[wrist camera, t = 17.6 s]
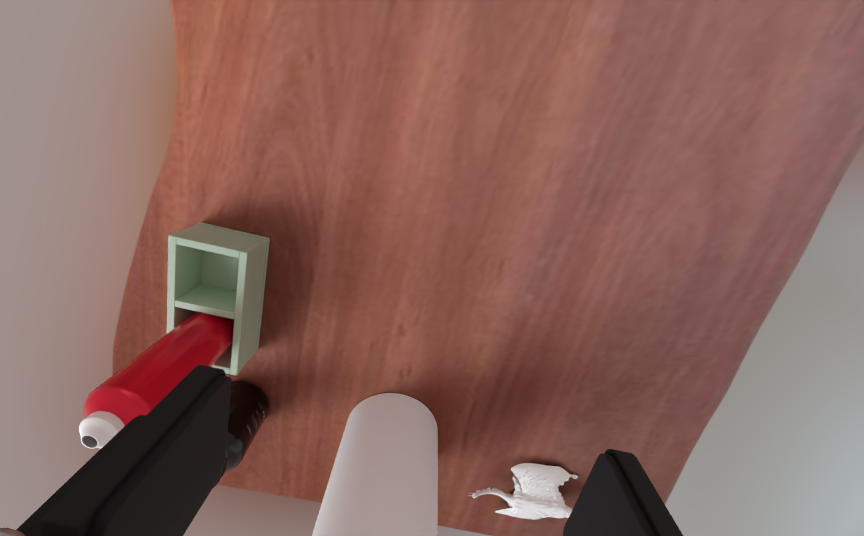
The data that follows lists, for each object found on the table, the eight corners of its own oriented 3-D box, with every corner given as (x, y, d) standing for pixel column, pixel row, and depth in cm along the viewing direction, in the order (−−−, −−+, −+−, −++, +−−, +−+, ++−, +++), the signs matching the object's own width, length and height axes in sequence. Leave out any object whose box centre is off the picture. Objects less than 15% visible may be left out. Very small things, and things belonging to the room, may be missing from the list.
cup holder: (195, 335, 50) (166, 361, 45) (200, 221, 45) (168, 235, 40) (258, 348, 51) (236, 375, 45) (270, 237, 46) (247, 252, 40)
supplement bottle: (220, 418, 55) (163, 495, 43) (219, 376, 52) (158, 445, 41) (271, 425, 55) (227, 503, 43) (271, 383, 53) (226, 454, 41)
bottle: (226, 289, 47) (84, 398, 28) (257, 324, 48) (142, 450, 30) (193, 312, 48) (35, 433, 29) (224, 345, 50) (94, 480, 31)
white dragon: (456, 501, 59) (457, 528, 55) (473, 448, 56) (476, 472, 52) (573, 522, 60) (582, 550, 56) (597, 471, 57) (608, 496, 53)
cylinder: (453, 447, 56) (463, 684, 32) (374, 477, 58) (330, 720, 34) (411, 379, 52) (388, 588, 28) (329, 413, 54) (244, 636, 30)
